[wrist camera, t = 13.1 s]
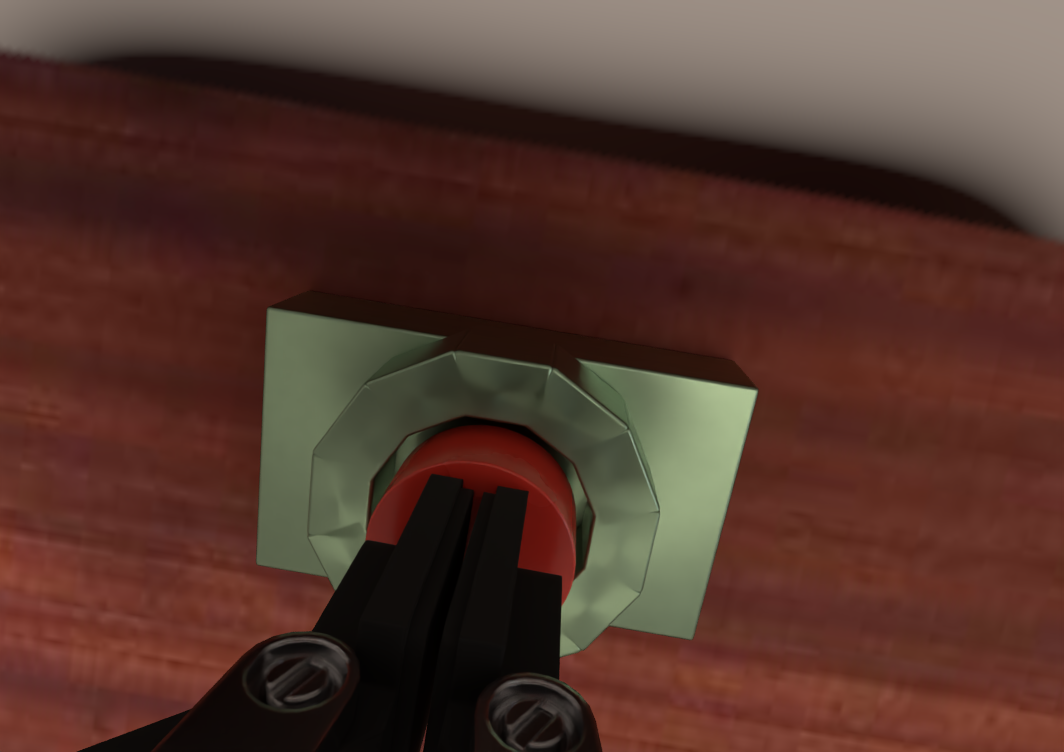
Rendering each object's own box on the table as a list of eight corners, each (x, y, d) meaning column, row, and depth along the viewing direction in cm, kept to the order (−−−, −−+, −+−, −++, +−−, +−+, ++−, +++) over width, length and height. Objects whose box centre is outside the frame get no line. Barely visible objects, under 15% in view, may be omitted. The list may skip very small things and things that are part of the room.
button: (383, 576, 14) (355, 631, 12) (400, 409, 13) (372, 444, 11) (559, 606, 14) (557, 666, 12) (591, 441, 13) (592, 481, 11)
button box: (292, 528, 17) (213, 625, 14) (307, 278, 16) (219, 310, 12) (677, 594, 17) (705, 712, 13) (737, 350, 15) (791, 405, 12)
